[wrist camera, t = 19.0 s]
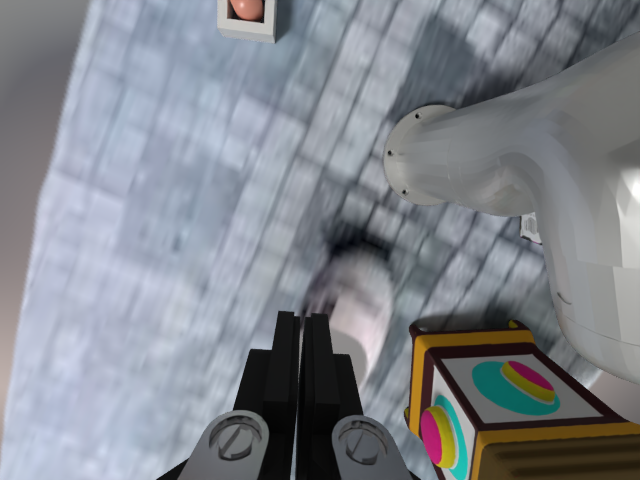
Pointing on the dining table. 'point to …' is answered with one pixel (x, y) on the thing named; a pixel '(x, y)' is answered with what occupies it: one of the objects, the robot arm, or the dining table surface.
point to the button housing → (247, 23)
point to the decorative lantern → (511, 412)
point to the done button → (249, 10)
